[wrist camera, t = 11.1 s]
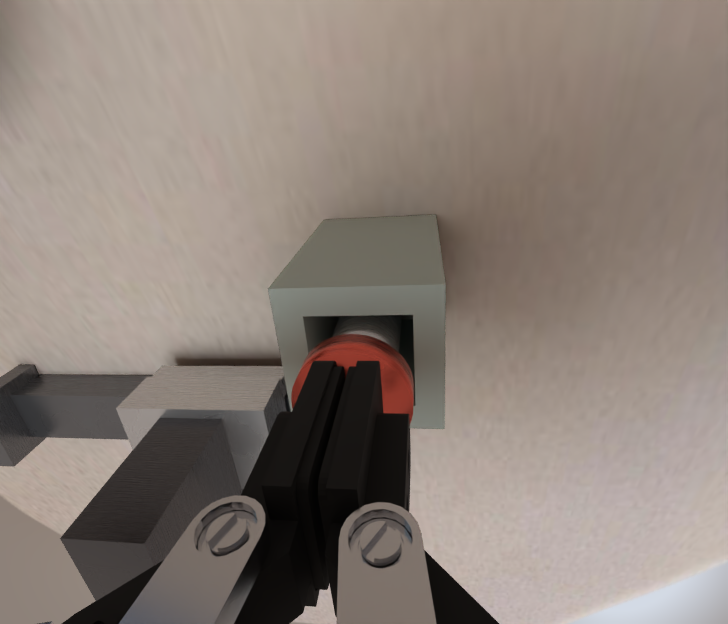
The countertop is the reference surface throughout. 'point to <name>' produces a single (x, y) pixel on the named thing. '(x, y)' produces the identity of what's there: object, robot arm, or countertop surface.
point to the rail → (60, 408)
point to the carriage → (174, 465)
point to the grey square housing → (369, 297)
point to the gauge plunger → (367, 357)
